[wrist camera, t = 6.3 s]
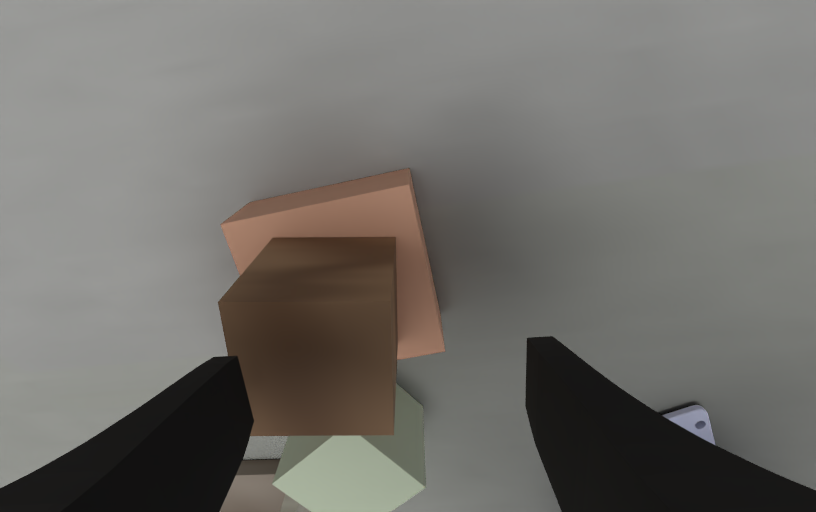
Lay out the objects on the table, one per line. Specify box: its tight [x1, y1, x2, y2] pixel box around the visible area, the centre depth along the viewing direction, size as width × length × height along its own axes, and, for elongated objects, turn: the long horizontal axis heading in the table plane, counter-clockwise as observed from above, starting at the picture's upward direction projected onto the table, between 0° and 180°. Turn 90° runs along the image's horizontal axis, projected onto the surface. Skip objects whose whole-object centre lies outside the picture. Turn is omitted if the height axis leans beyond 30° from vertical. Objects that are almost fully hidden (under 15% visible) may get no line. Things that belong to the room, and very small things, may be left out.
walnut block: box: [218, 237, 398, 436], centre depth 15 cm, size 4×4×5 cm
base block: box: [220, 168, 445, 360], centre depth 19 cm, size 7×7×4 cm
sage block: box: [272, 383, 426, 512], centre depth 21 cm, size 4×4×5 cm
